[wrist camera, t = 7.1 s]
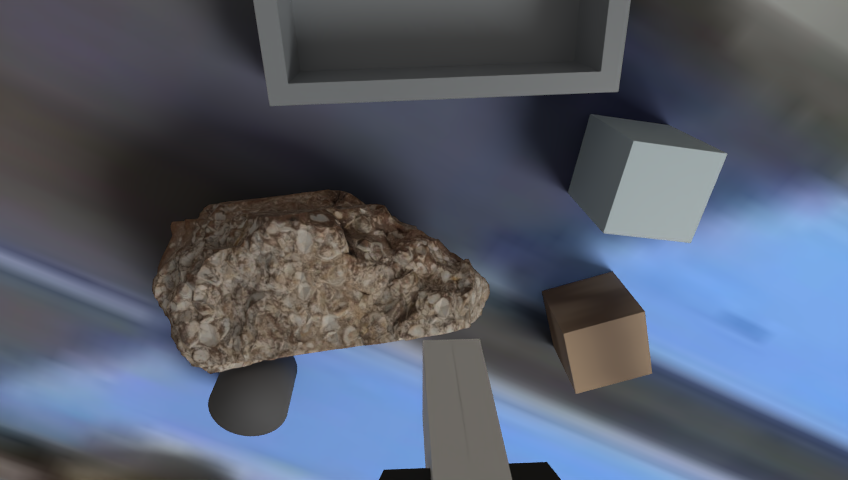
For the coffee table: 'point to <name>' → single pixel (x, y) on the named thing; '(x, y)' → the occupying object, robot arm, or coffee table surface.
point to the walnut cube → (598, 332)
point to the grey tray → (438, 48)
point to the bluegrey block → (644, 178)
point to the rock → (307, 280)
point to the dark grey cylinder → (253, 396)
